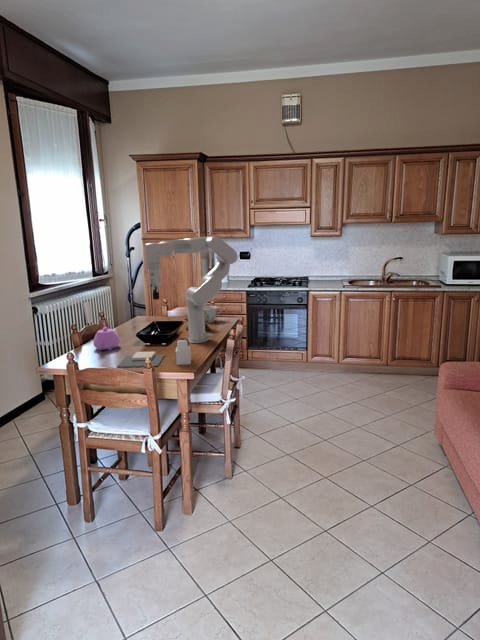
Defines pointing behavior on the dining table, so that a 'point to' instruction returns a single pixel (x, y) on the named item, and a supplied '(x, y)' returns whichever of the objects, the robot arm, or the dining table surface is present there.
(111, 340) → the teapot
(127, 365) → the mat
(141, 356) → the tile
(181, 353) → the medicine bottle
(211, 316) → the teacup
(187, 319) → the owl figurine
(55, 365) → the dining table surface
